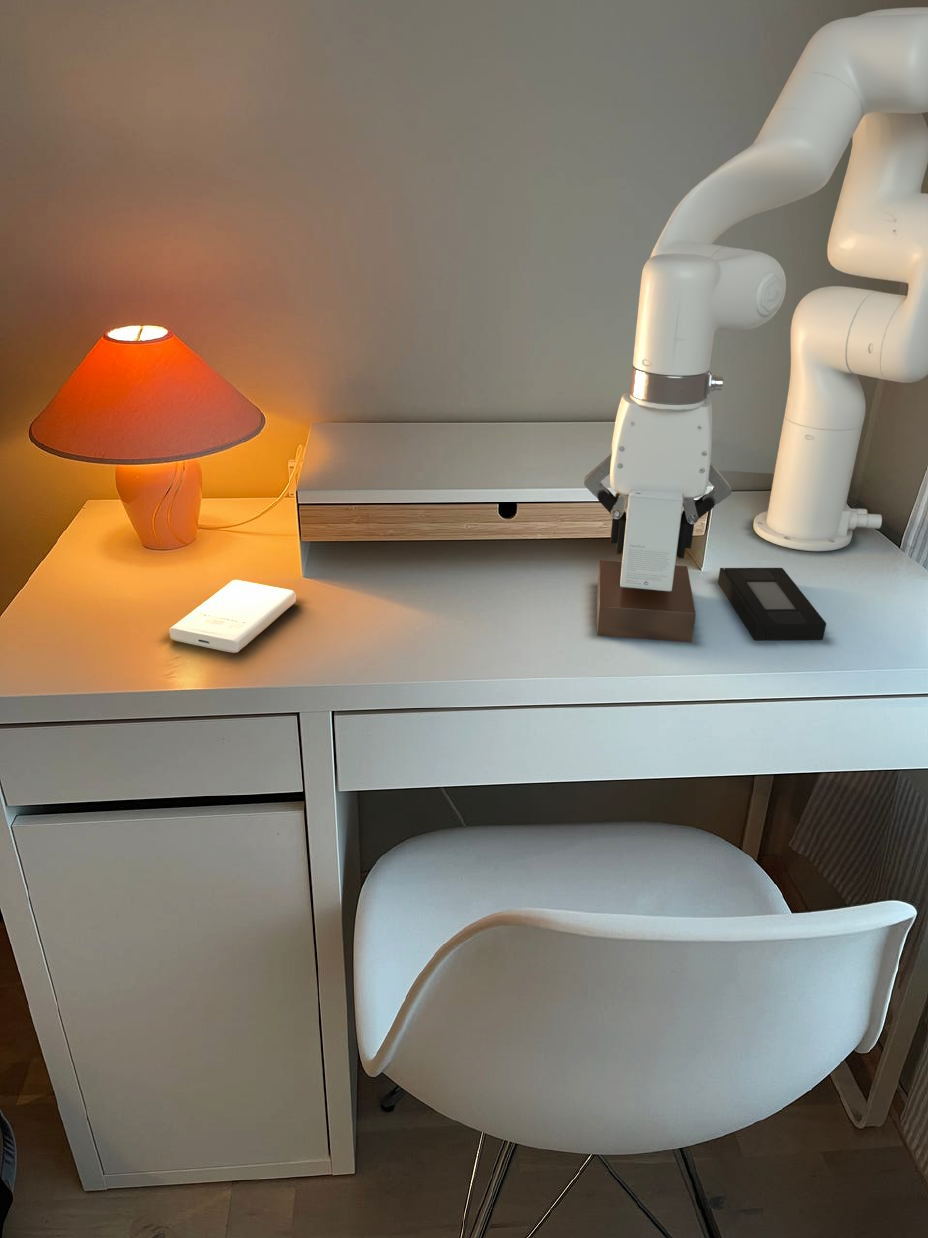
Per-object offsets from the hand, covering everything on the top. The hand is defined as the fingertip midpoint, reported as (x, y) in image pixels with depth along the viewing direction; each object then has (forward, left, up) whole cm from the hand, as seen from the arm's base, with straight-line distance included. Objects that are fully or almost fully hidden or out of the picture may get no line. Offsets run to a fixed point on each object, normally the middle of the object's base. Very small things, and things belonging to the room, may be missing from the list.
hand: (649, 549), depth 107 cm
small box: (0, 0, -3) cm, 3 cm away
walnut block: (0, 0, -8) cm, 8 cm away
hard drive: (+44, +9, -8) cm, 46 cm away
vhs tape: (-14, -3, -8) cm, 17 cm away
